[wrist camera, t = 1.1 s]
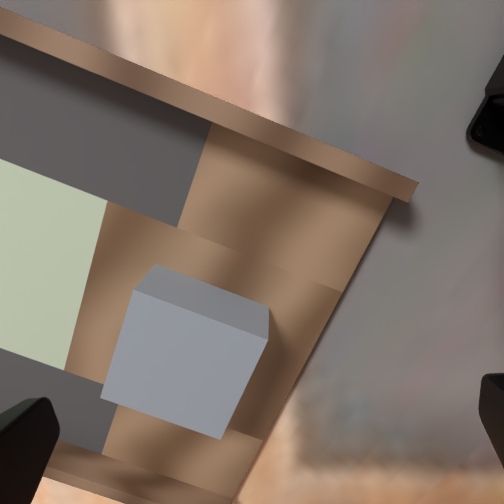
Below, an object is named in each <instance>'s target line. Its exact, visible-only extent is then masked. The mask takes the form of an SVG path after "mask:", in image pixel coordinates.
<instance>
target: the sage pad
mask: <svg viewBox="0 0 504 504" xmlns="http://www.w3.org/2000/svg"><path fill="white" fill-rule="evenodd" d="M106 204H107V200H104V199H102V198H99V197H97V196H94V195H92V194H89V193H86V192H84V191H81V190H79V189H76V188H74V187H71V186H68V185H66V184H63V183H61V182H58V181H56V180H53V179H50V178H48V177H45V176H43V175H40V174H38V173H35V172H33V171H30V170H27V169H25V168H22V167H20V166H17V165H15V164H12V163H9V162H7V161H4V160H2V159H0V348H2V349H5V350H8V351H10V352H13V353H16V354H19V355H22V356H25V357H27V358H30V359H33V360H36V361H39V362H42V363H44V364H47V365H50V366H53V367H56V368H59V369H61V370H64V368H65V364H66V360H67V356H68V352H69V348H70V344H71V340H72V337H73V333H74V329H75V325H76V321H77V317H78V313H79V309H80V305H81V302H82V298H83V294H84V290H85V286H86V282H87V278H88V274H89V270H90V267H91V263H92V259H93V255H94V251H95V247H96V243H97V239H98V236H99V232H100V228H101V224H102V220H103V216H104V212H105V208H106Z"/></svg>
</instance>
